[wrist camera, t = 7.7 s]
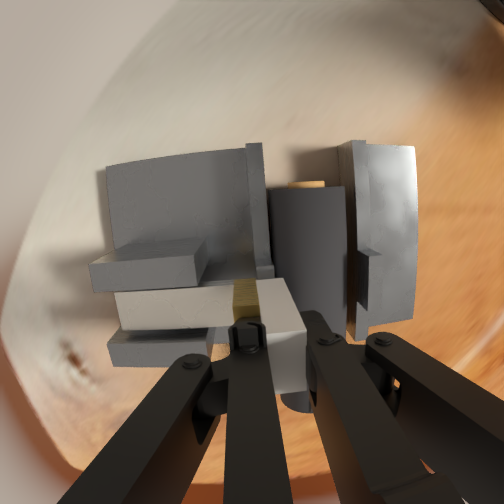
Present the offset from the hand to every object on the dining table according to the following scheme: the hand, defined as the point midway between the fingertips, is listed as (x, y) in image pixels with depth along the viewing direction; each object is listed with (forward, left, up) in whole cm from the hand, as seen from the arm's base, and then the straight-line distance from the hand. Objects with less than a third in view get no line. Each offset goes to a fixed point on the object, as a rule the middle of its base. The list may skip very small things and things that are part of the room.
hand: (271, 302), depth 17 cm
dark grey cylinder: (+2, +3, -6) cm, 7 cm away
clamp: (-2, +1, -6) cm, 7 cm away
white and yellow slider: (0, -5, -1) cm, 5 cm away
